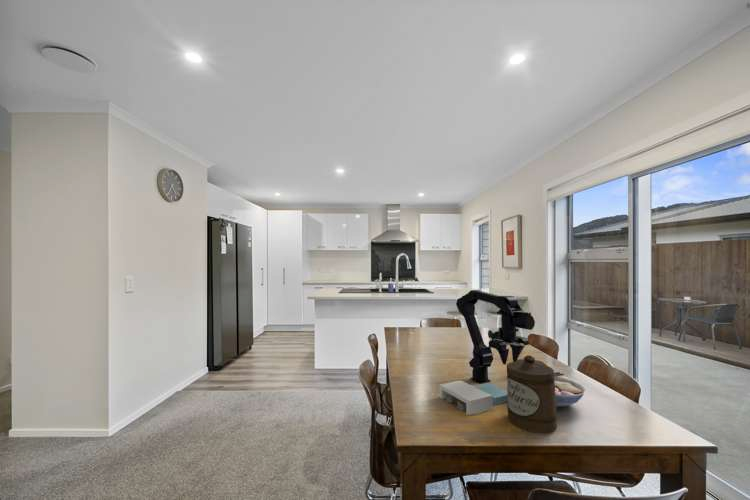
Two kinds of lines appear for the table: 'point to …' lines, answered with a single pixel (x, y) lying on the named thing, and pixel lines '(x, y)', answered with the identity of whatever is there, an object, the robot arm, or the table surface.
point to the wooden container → (531, 396)
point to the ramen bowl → (567, 390)
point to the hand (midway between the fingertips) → (509, 363)
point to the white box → (466, 397)
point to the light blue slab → (494, 393)
